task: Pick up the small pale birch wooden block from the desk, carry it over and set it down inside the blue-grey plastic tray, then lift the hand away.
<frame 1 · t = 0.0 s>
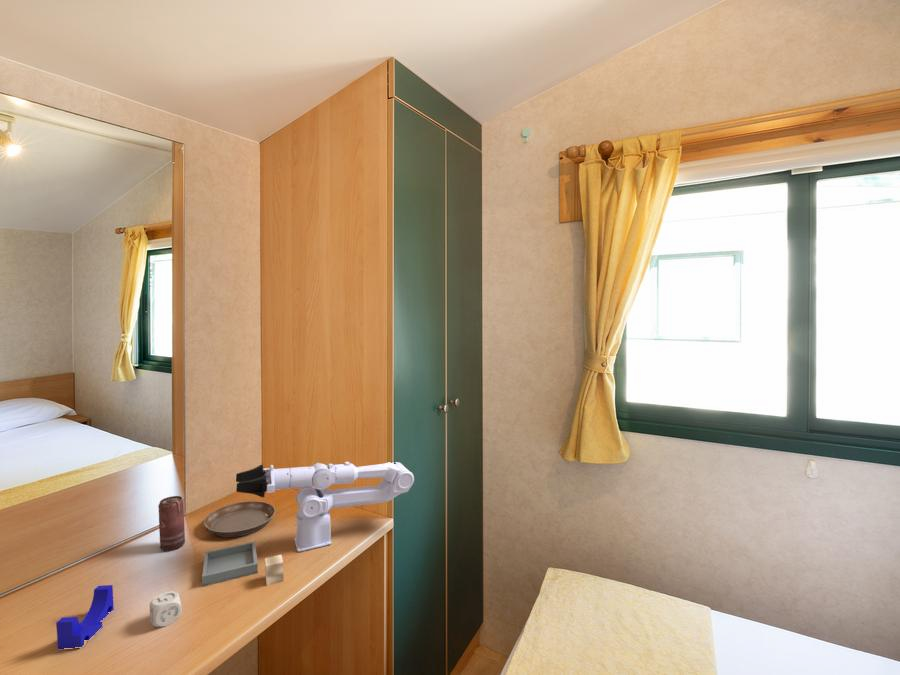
hand: (236, 482, 120), 22 cm above the table, tool horizontal, fingers open, 7 cm apart
can: (173, 547, 128), on the table
block: (274, 579, 113), on the table
tray: (230, 566, 118), on the table
blue curved piece: (91, 629, 95), on the table
die: (165, 620, 98), on the table
plant saucer: (241, 525, 142), on the table
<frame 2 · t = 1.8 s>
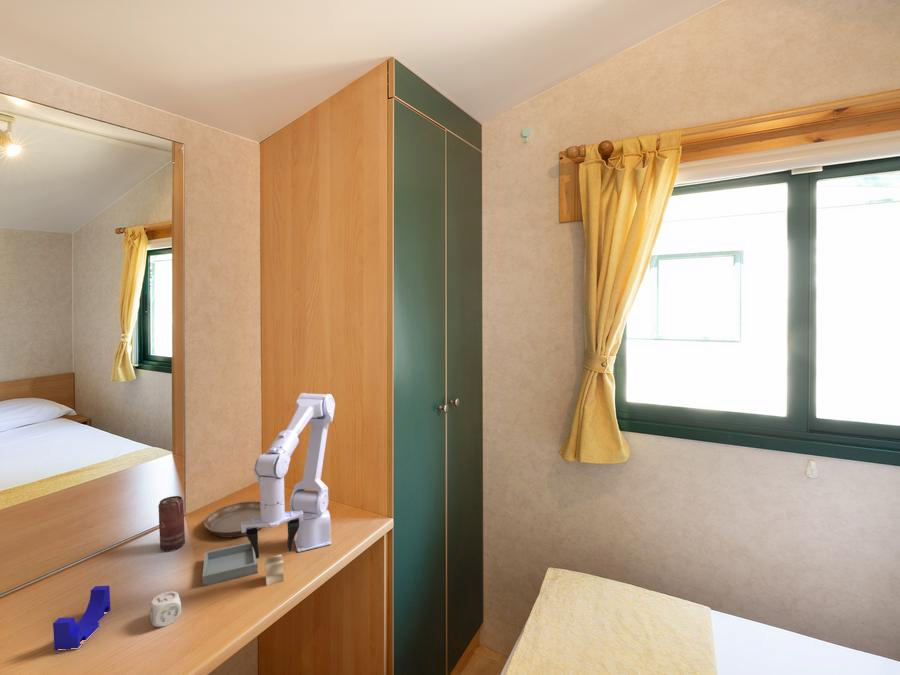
hand: (273, 552, 112), 7 cm above the table, tool pointing down, fingers open, 7 cm apart
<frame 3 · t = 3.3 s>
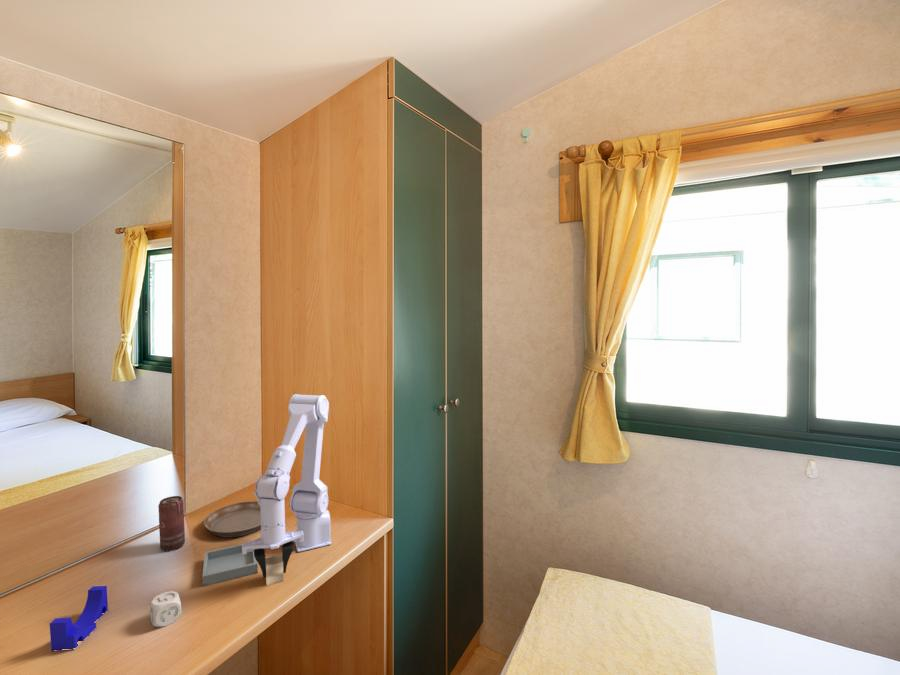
hand: (274, 573, 113), 1 cm above the table, tool pointing down, fingers closed on block, 4 cm apart
block: (274, 578, 113), on the table, touching gripper
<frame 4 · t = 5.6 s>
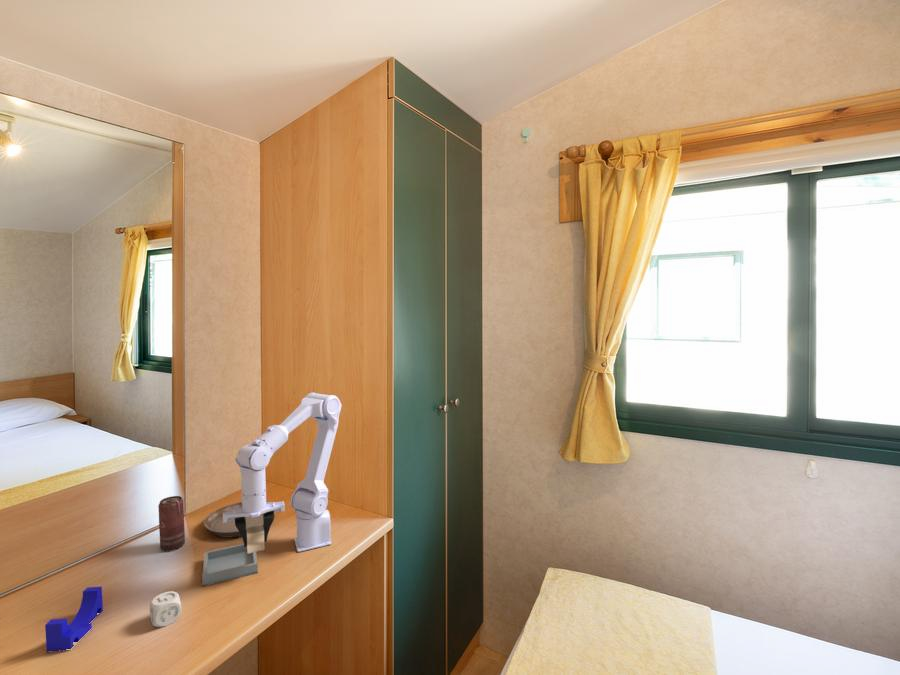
hand: (255, 542, 114), 8 cm above the table, tool pointing down, fingers closed on block, 4 cm apart
block: (255, 548, 114), point 7 cm above the table, touching gripper
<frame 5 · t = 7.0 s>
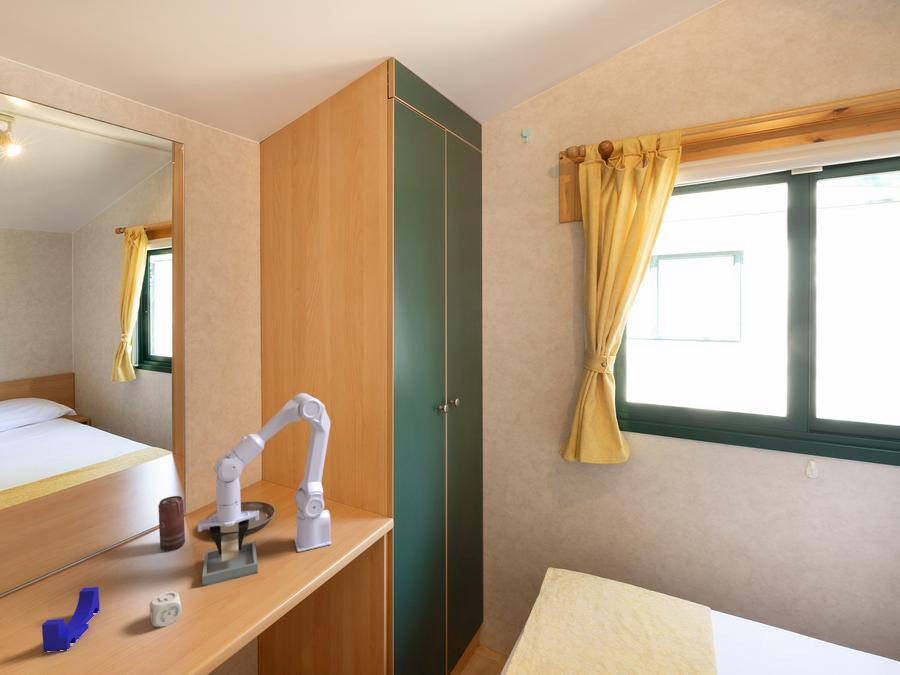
hand: (230, 550, 118), 4 cm above the table, tool pointing down, fingers closed on block, 4 cm apart
block: (230, 555, 118), point 3 cm above the table, touching gripper
when the fingers open (3 cm above the table, at t = 8.0 s): block drops 1 cm, resting on tray.
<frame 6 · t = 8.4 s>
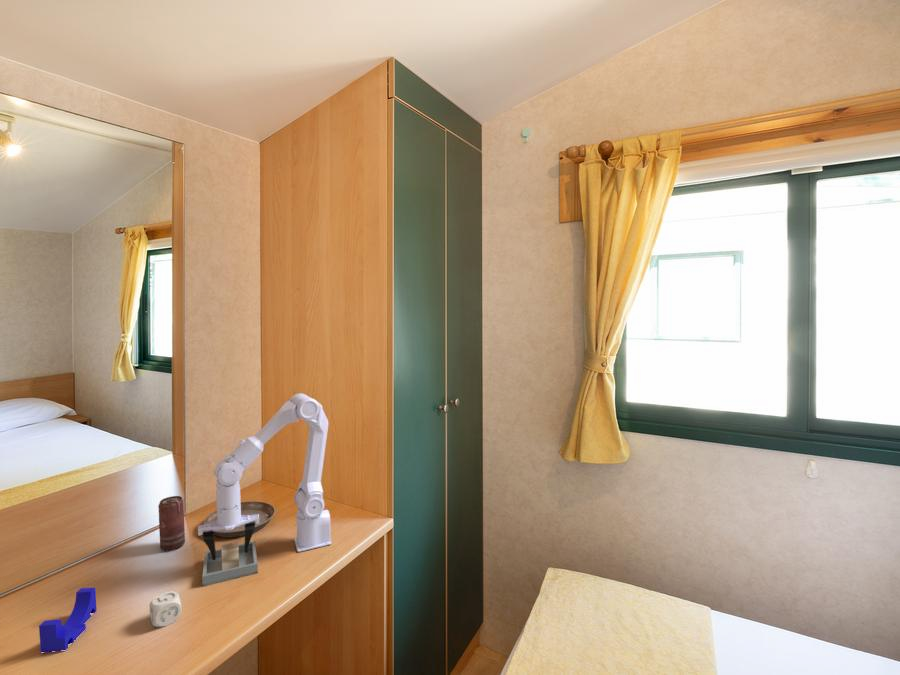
hand: (230, 554, 118), 3 cm above the table, tool pointing down, fingers open, 7 cm apart
block: (230, 565, 118), resting on tray
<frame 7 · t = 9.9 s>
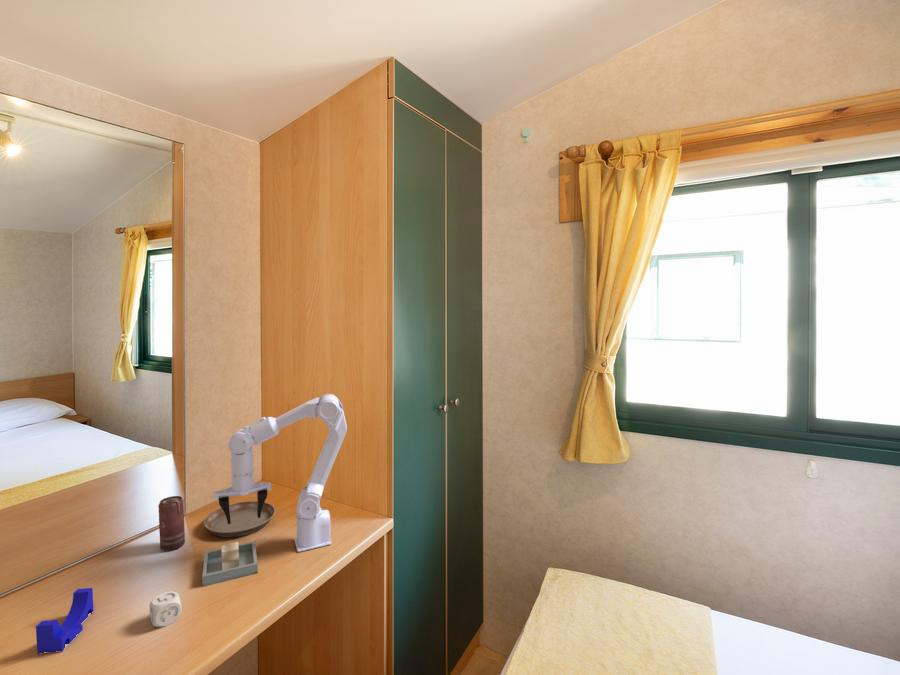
hand: (244, 519, 125), 9 cm above the table, tool pointing down, fingers open, 7 cm apart
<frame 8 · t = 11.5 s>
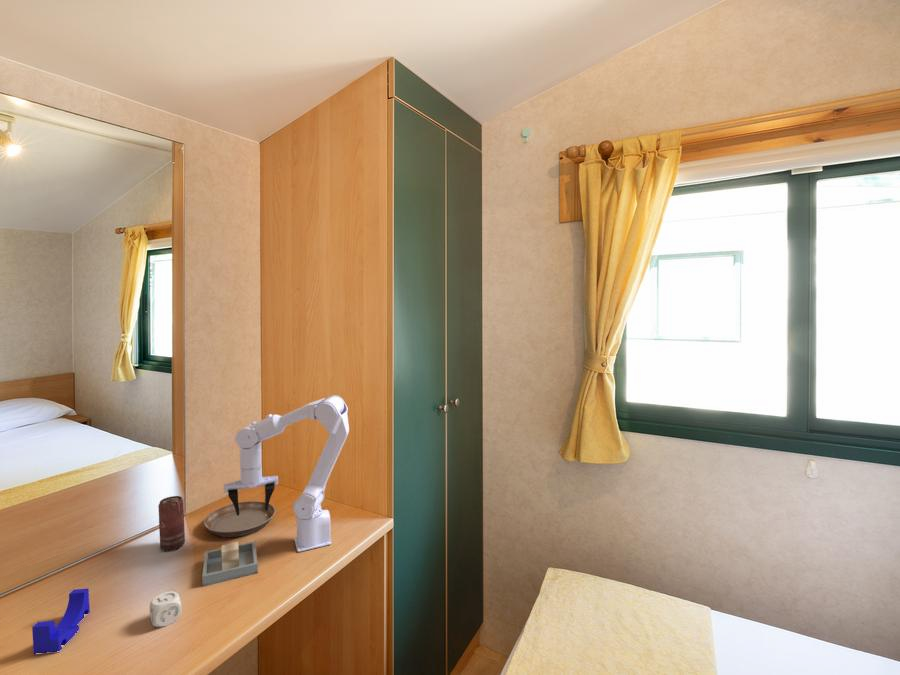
hand: (252, 511, 130), 9 cm above the table, tool pointing down, fingers open, 7 cm apart
at the end: block inside the target area on the tray (0.0 cm from its centre), point 0.5 cm above the tray's base; the gripper is holding nothing; block tilted 0° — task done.
